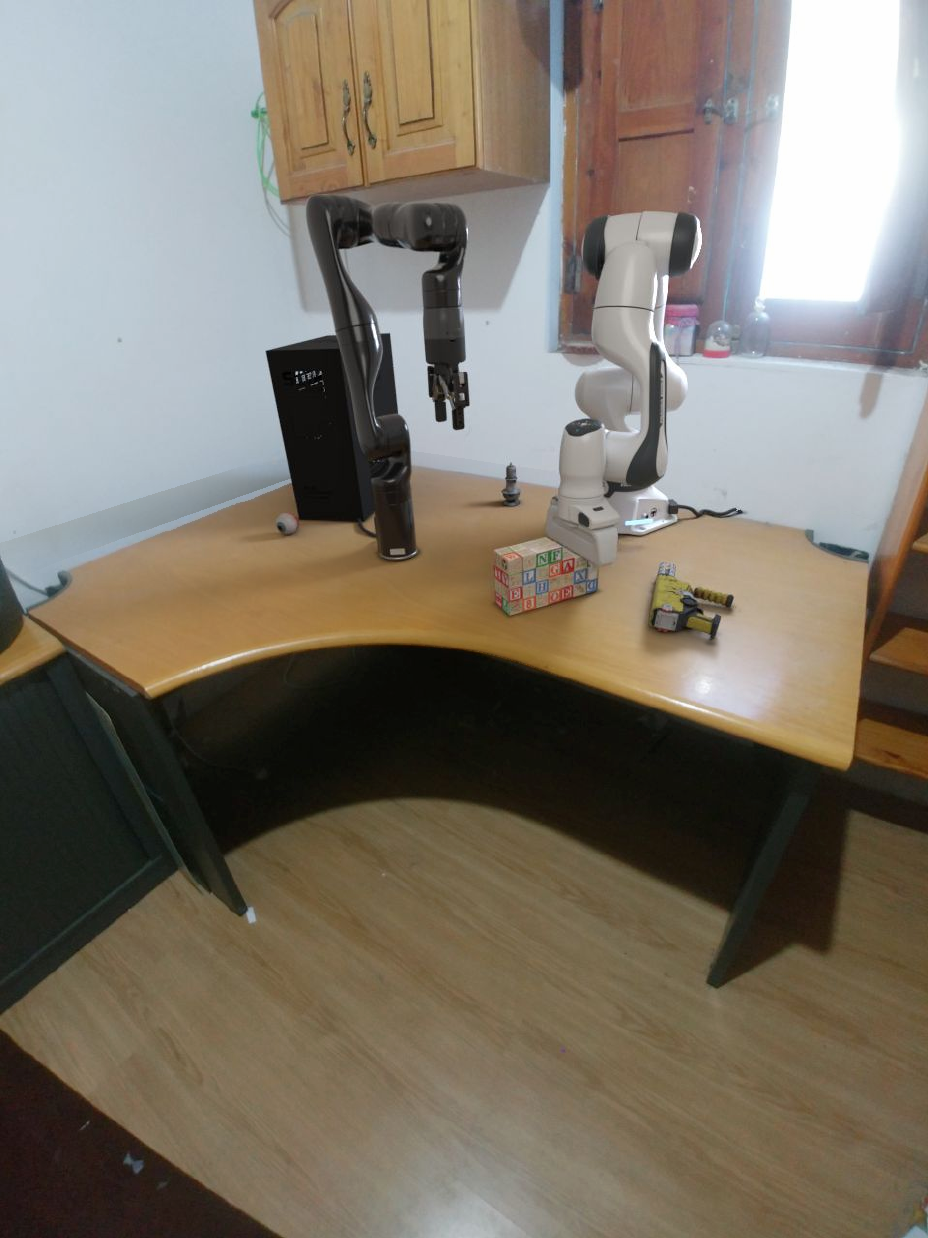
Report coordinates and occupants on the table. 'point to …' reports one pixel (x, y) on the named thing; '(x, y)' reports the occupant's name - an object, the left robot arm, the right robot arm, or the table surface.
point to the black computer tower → (326, 427)
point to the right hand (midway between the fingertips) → (577, 569)
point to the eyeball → (287, 523)
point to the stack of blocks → (538, 575)
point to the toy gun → (683, 604)
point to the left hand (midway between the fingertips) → (449, 425)
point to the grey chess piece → (511, 487)
